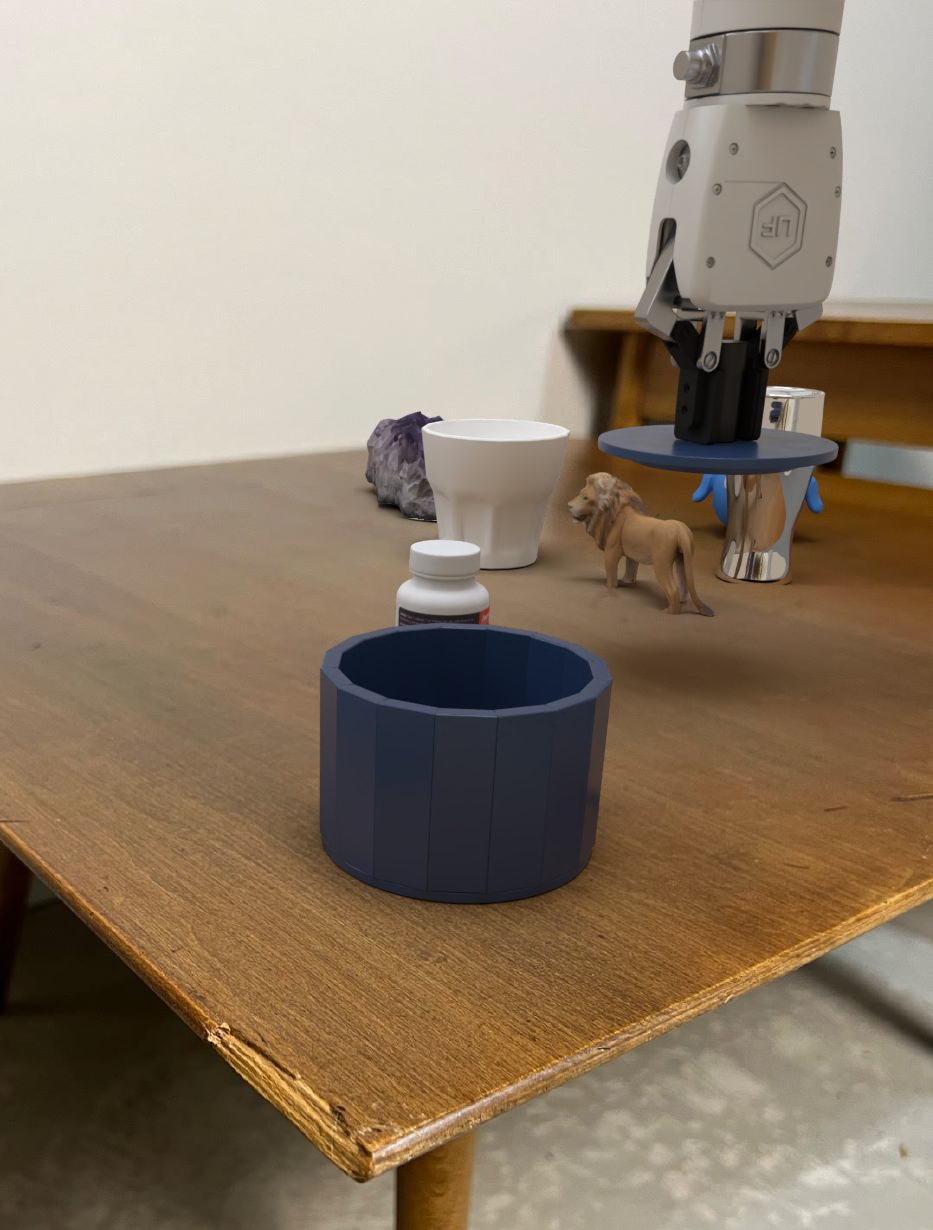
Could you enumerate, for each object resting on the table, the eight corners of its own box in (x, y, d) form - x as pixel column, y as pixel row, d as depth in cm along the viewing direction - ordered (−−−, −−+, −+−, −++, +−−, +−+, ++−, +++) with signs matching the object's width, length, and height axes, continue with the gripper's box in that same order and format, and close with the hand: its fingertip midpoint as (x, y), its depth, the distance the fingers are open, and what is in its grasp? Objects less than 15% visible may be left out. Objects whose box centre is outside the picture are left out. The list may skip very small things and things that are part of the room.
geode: (505, 522, 121) (499, 419, 116) (390, 539, 120) (380, 436, 116) (464, 476, 139) (457, 386, 134) (364, 491, 138) (354, 401, 134)
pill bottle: (493, 722, 71) (504, 557, 67) (403, 727, 70) (408, 559, 66) (470, 690, 75) (479, 535, 71) (385, 694, 75) (389, 537, 71)
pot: (578, 787, 62) (593, 627, 59) (606, 911, 51) (628, 721, 47) (333, 776, 63) (335, 618, 60) (307, 896, 52) (307, 709, 48)
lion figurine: (551, 583, 99) (561, 471, 96) (599, 575, 102) (610, 465, 98) (688, 628, 88) (705, 503, 84) (738, 617, 91) (756, 496, 87)
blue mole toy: (672, 544, 113) (684, 451, 109) (697, 520, 122) (708, 434, 119) (808, 559, 108) (824, 462, 105) (822, 532, 118) (838, 443, 114)
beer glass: (783, 592, 97) (815, 398, 91) (698, 579, 101) (723, 391, 95) (806, 575, 103) (837, 390, 97) (724, 563, 106) (750, 383, 100)
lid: (801, 444, 78) (818, 333, 75) (865, 483, 65) (888, 351, 63) (587, 442, 79) (595, 332, 76) (609, 479, 66) (620, 349, 64)
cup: (448, 536, 114) (454, 414, 110) (577, 551, 110) (588, 424, 105) (394, 564, 104) (398, 432, 100) (533, 582, 99) (544, 443, 95)
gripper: (682, 64, 58) (645, 458, 65) (926, 81, 64) (866, 439, 72) (590, 81, 64) (565, 439, 72) (820, 95, 70) (775, 423, 78)
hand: (716, 436), depth 72 cm, fingers closed on lid, 2 cm apart
